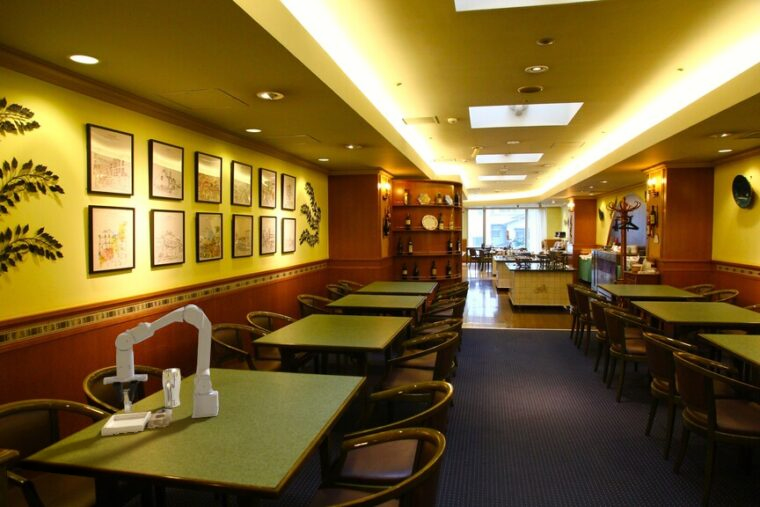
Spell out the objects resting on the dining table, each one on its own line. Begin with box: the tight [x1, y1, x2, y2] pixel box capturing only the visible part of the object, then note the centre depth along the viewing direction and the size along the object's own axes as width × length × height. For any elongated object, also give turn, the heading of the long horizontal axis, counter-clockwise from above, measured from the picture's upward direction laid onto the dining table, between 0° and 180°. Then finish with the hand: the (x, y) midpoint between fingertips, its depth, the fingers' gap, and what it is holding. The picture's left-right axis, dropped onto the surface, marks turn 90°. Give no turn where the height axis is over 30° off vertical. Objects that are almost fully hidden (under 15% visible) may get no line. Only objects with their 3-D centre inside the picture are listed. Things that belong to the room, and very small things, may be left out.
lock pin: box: [121, 388, 133, 414], centre depth 178 cm, size 3×3×8 cm
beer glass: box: [162, 367, 182, 409], centre depth 199 cm, size 7×7×15 cm
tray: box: [100, 411, 152, 437], centre depth 178 cm, size 14×14×2 cm
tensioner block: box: [147, 408, 173, 429], centre depth 183 cm, size 7×14×3 cm, turn 14°
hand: (126, 400), depth 178 cm, fingers closed on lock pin, 3 cm apart
